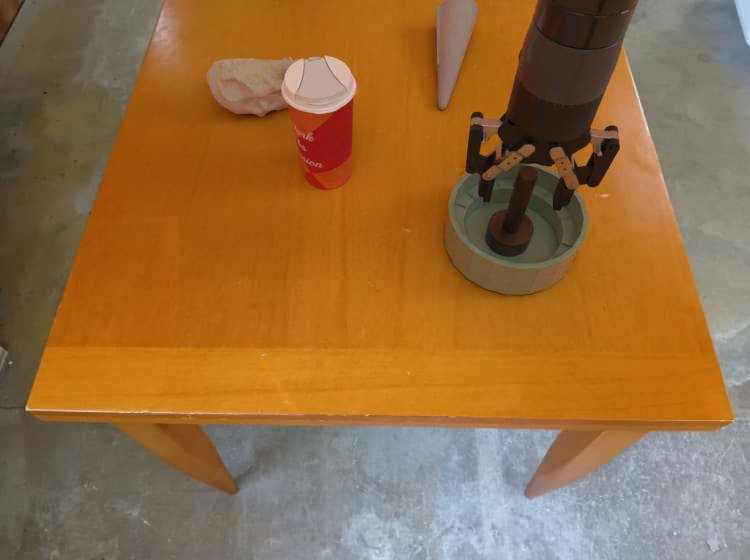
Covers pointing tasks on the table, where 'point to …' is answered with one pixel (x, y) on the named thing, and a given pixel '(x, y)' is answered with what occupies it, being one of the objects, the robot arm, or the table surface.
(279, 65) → the pale crumpled lump
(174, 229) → the table surface
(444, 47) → the long tapered cone
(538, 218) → the bowl
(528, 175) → the brown capped cylinder
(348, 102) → the coffee cup
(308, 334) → the table surface
